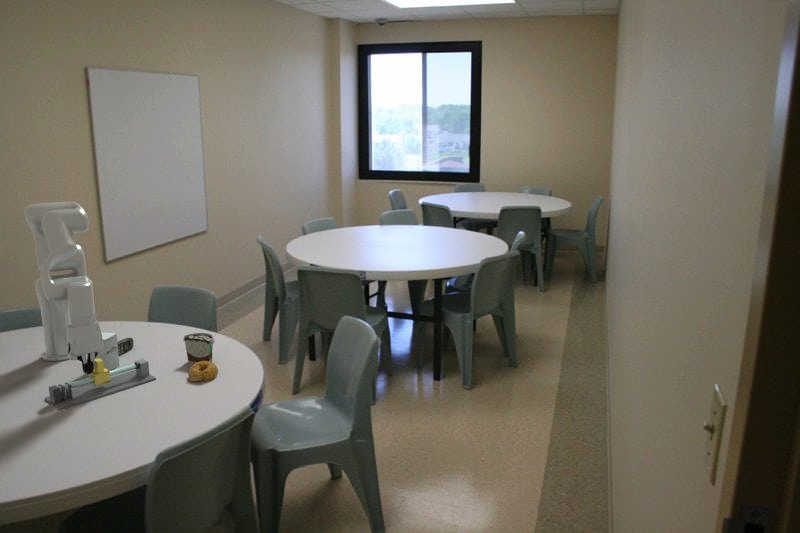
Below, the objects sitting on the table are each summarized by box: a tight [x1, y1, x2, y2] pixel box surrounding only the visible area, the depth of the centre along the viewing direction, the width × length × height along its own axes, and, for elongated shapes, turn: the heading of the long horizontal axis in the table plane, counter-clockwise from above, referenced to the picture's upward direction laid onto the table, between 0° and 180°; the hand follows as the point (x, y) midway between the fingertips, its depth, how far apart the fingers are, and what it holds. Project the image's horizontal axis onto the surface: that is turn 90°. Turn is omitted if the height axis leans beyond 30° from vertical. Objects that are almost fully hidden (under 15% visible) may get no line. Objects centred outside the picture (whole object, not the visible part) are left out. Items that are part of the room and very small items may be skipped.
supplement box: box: [93, 331, 120, 371], centre depth 230 cm, size 7×7×13 cm
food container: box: [183, 332, 215, 363], centre depth 239 cm, size 12×6×10 cm, turn 71°
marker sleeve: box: [88, 358, 111, 386], centre depth 212 cm, size 4×5×8 cm
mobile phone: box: [117, 337, 135, 356], centre depth 246 cm, size 5×3×15 cm
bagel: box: [187, 361, 219, 383], centre depth 225 cm, size 10×11×5 cm
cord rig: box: [44, 358, 157, 411], centre depth 214 cm, size 12×32×6 cm, turn 140°
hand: (88, 372), depth 210 cm, fingers closed
